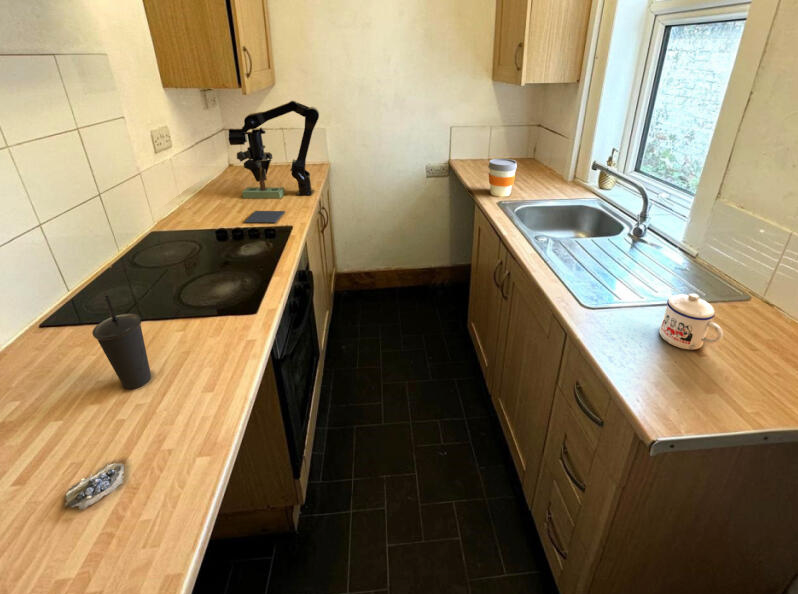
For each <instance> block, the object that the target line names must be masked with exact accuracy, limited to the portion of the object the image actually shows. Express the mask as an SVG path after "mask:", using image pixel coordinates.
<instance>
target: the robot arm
mask: <svg viewBox="0 0 798 594" xmlns="http://www.w3.org/2000/svg"><path fill="white" fill-rule="evenodd" d="M292 112H294V113H296V114H298V115H299V116H302V117H304V130H303V133H302V137H301V142H300V146H299V150H298V154H297V157H296V159H294V158H293V159H292V162H291V166H290V173H291V176H292V178H294V179H295V180H296V182H297V188H298V191H297V193H296V195H297V196H312V194H313V193H314V192H315V190H314V189H312V182H311V173H310V172H309V171H308V170H306V163H307V161H306V160H307V156H308V152H309V147H310V144H311V139H312V134H313V131H314V129H315V127H316V125H317V123H318V121H319V119H320V111H319V110H318V108H317V107H315V106H307V105H305V104H302V103H300V102H298V101H296V100H290V101H289V102H286V103H284V104H280V105H279V106H276V107H273V108H271V109H267V110H264V111H258V112H252V113H249V114H248V115H247V116H245V118H244V119H243V123H244V124H243V126H242V127H241V128H229V129H228V142H229V145H230V146H244V145H246V143H248V147H247V150H244V151H242V150H240V151H237V152H236V155H235V156H236V159H237V160H239V162H240V163H241V162H243V167H244V169H246V170H248V171H250V172H251V174H252V175H253V177H254V179H255V181H256V182H258V183H259V181H260V176H261V170H262V169H265V170H266V176H267V175H268V171H269V168H270V165H271V162H272V160H273V153H271V152H269V151H268V152H267V151H266V152H265V148H266V145H265V144H264V142H263V135H265V134H266V133H267V130H266V129H264V128H263V127H260V126H262V125H263V124H265V123H267V122H268V121H271V120H273V119H276V118H279V117H281V116H284V115H286V114H290V113H292ZM259 127H260V128H259ZM258 128H259V129H258ZM250 130H251V131H250Z"/></svg>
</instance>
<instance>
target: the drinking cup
mask: <svg viewBox="0 0 798 594" xmlns="http://www.w3.org/2000/svg"><path fill="white" fill-rule="evenodd" d="M103 298H104V300H105V304H106V306H107V308H108V311H109V315H110V317H108V318H106V319H104V320H102V321H101V322H99V323H98V324H97V325H95V326H94V327H93V329H92V332H91V334H92V336H93V338H94V339H96V340H97V342H98V344H99V346H100V347H101V349H102V351H103V353H104V354H105V356H106V359H107V360H108V362H109V363H110V365H111V367H112V369H113V371H114V372H115V374H116V377H117V378H118V380H119V381H120V383H121V385H122V387H123V388H124V389H125V390H136V389H139V388H141V387H144V386H145V385H146V384H148V383H149V382H150V381H151V379H152V373H151V369H150V364H149V359H148V353H147V348H146V345H145V339H144V334H143V329H142V325H141V324H142V318H141V316H140V315H139V314H135V313H123V314H118V315H116V312H115V309H114V305H113V304H112V301H111V298H110V295H104V297H103Z"/></svg>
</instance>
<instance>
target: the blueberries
mask: <svg viewBox="0 0 798 594" xmlns="http://www.w3.org/2000/svg"><path fill="white" fill-rule="evenodd" d="M124 470H125V464H124V463H121V462H119V463H117V462H114V463H112V464H107V465H106V467H104V468H102V469H99V470H98V472H97V473H96V474H95V475H93V473H91V474H90V476H88V477H87V478H84V477H83V478H81V480H80V481H79V482H77V483H76V484H75V485H72V486H71V487H70V488H68V491H66V493H65V501H66V502H64V505H63V506H64V507H68V506H70V508H75V507H78V509H79V510H80V511H82V510H87V508H88V507H89V506H92V505H94V504H95V503H97V502H99V500H101V499H103V497H105V496H108V494H109V493H112V492H114V491H115V490H116V489H117V488H118V487H119V486H120V485H122V484H123V479H124V478H125V476H124V475H123V474H124V473H125V472H124Z"/></svg>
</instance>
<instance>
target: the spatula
mask: <svg viewBox="0 0 798 594" xmlns="http://www.w3.org/2000/svg"><path fill="white" fill-rule="evenodd" d="M267 180H268V177H267V175H266V170H265V169H262V170H261V176H260V181H259V182H258V183H259V187H260V189H261V191H266V188H265V187H266V181H267Z"/></svg>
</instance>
